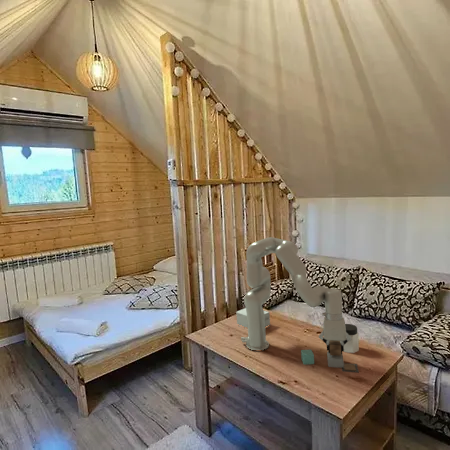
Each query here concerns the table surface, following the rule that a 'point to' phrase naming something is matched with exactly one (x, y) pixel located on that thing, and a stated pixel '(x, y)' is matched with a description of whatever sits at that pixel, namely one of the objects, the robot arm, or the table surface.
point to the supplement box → (243, 317)
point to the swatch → (350, 368)
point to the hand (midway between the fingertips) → (335, 351)
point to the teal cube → (307, 357)
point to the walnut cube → (335, 348)
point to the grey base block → (335, 360)
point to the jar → (353, 344)
